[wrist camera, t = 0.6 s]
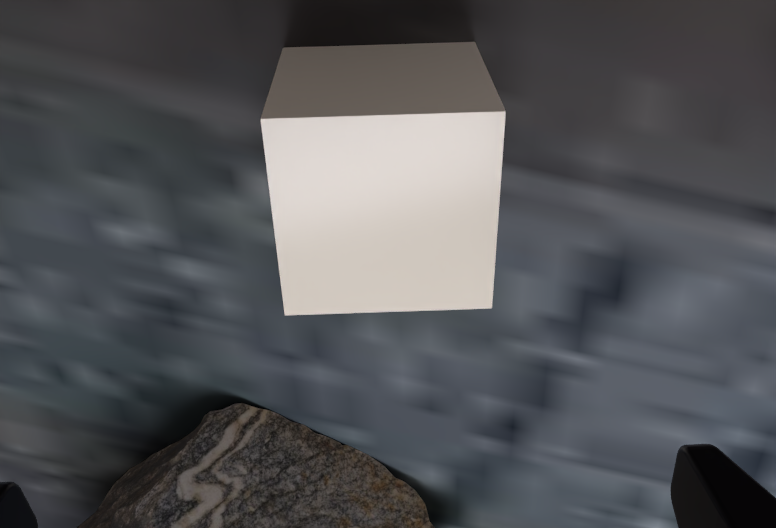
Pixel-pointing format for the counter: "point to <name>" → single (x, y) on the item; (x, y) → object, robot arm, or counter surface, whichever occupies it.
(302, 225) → the limestone block
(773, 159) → the counter surface
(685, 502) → the robot arm
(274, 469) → the rock
